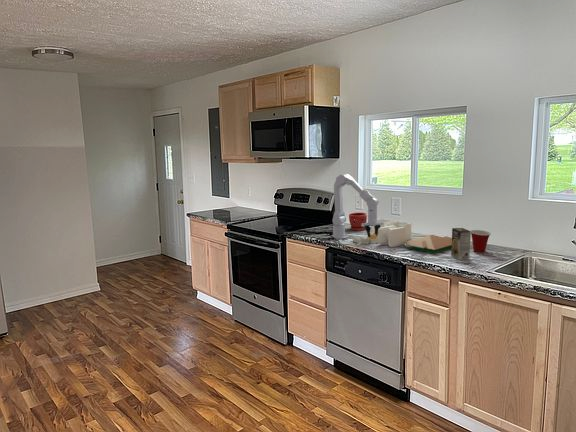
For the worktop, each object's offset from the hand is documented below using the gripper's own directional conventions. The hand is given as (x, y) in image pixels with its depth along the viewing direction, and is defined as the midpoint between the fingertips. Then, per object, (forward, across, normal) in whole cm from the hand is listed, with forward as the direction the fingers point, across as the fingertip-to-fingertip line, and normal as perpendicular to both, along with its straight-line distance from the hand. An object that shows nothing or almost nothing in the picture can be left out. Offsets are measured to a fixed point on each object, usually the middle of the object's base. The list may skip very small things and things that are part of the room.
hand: (372, 236), depth 277 cm
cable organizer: (+3, +7, -14) cm, 16 cm away
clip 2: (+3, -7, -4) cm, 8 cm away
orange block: (+3, 0, 0) cm, 3 cm away
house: (+4, +27, -26) cm, 38 cm away
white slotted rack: (+3, +16, +6) cm, 17 cm away
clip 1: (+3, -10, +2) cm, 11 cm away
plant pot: (+3, +5, +39) cm, 39 cm away
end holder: (+3, 0, -1) cm, 3 cm away
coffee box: (+3, +29, -53) cm, 60 cm away
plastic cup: (+3, +47, -45) cm, 65 cm away
